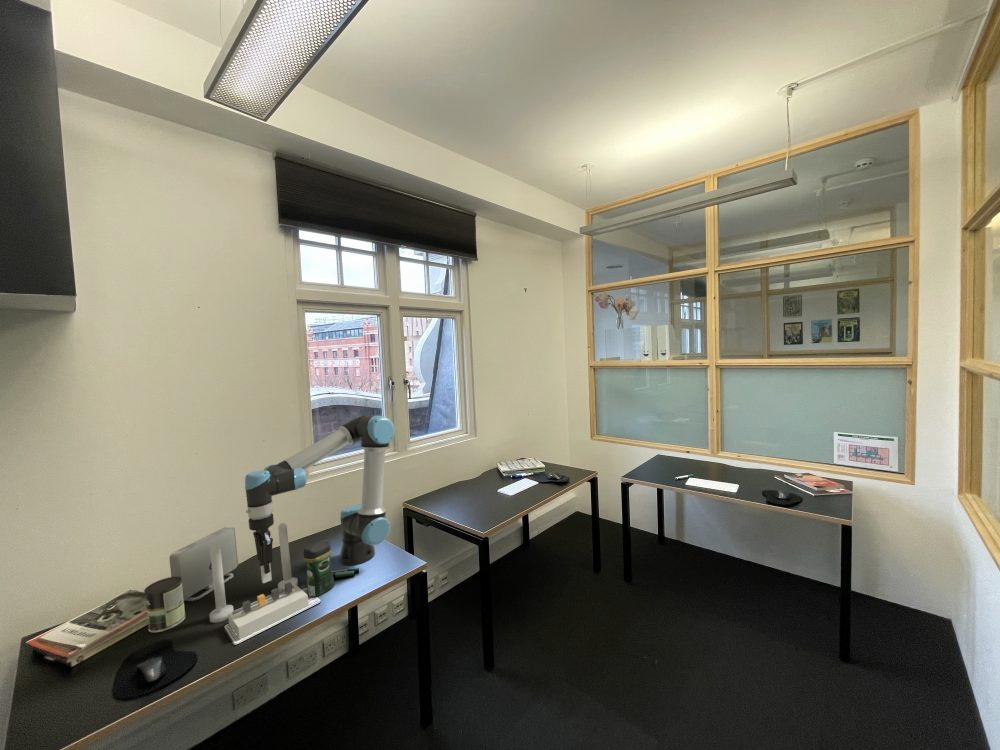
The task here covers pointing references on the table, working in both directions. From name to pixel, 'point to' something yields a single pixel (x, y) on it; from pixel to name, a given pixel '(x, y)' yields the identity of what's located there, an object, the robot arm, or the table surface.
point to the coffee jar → (318, 568)
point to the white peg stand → (218, 587)
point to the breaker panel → (267, 612)
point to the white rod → (285, 558)
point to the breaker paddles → (262, 601)
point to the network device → (203, 562)
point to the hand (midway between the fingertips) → (266, 580)
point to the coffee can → (164, 604)
